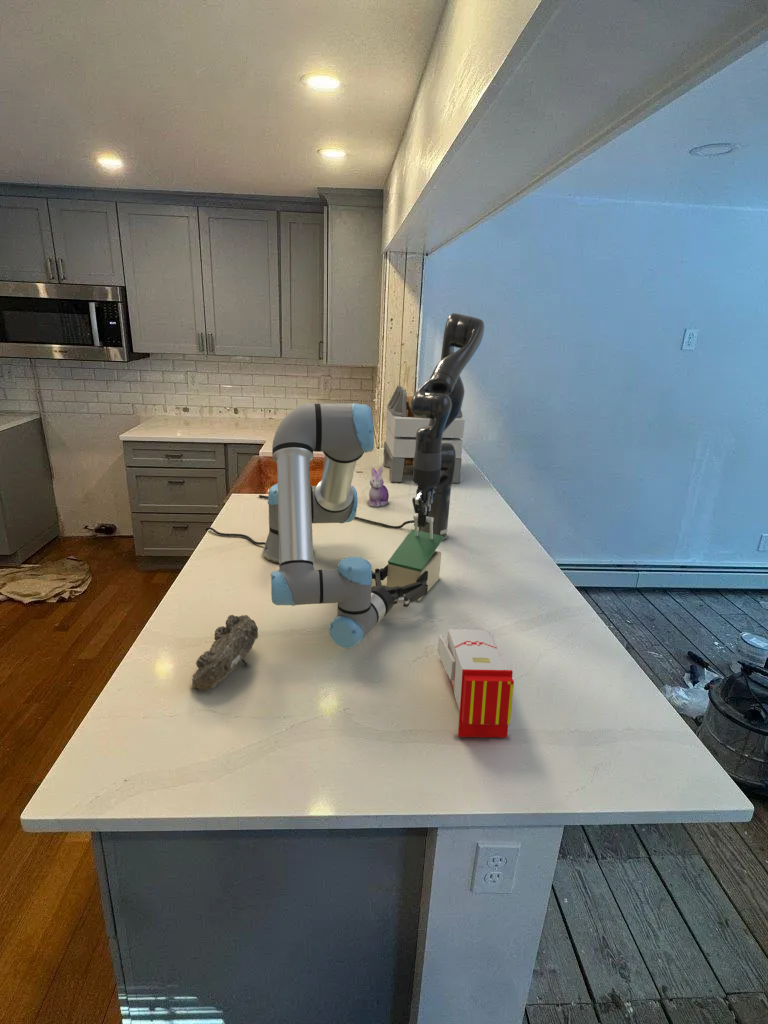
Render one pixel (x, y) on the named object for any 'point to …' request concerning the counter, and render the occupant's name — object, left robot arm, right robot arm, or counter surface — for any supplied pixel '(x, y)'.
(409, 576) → the chest
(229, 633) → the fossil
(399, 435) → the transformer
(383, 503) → the figurine
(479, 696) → the toy
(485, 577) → the counter surface
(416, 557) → the lid
